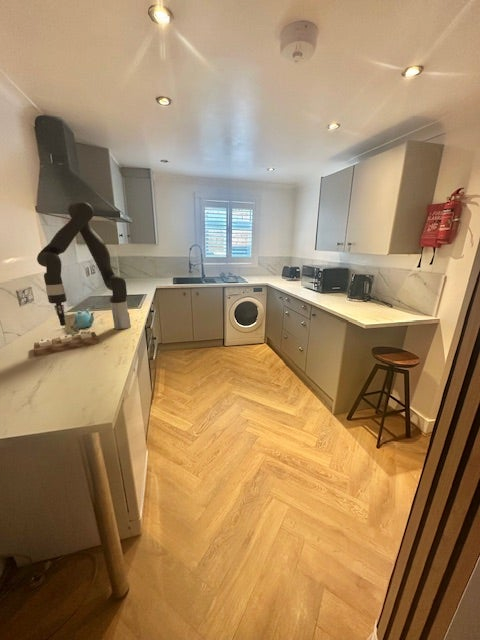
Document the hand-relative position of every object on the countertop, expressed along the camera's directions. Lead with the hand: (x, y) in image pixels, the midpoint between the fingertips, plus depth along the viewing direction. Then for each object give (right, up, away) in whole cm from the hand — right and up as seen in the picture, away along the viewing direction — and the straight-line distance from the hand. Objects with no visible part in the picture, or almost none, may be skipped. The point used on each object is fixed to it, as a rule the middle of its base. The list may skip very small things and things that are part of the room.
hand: (63, 325), depth 133 cm
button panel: (0, -11, +4) cm, 12 cm away
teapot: (-11, -1, +35) cm, 37 cm away
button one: (0, -10, +3) cm, 10 cm away
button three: (+7, -8, +8) cm, 14 cm away
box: (-8, -6, +20) cm, 23 cm away
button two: (-7, -11, -2) cm, 13 cm away
